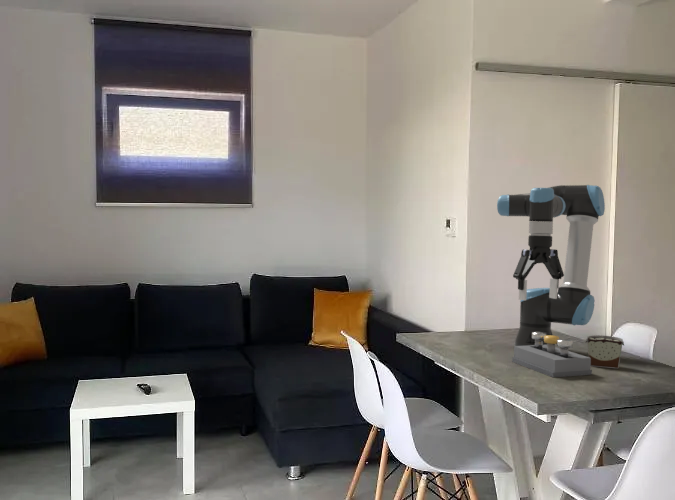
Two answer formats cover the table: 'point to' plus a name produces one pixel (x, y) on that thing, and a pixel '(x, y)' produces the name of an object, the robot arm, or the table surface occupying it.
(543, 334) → the knob
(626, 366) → the table surface
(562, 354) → the knob
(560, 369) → the mount
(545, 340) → the yellow round knob
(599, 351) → the food container
